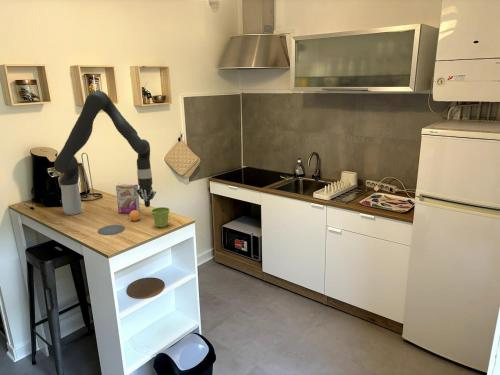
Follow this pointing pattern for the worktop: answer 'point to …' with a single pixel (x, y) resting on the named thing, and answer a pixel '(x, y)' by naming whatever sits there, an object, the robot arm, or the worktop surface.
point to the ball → (134, 215)
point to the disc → (111, 230)
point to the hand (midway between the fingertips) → (147, 206)
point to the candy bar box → (127, 198)
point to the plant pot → (160, 216)
